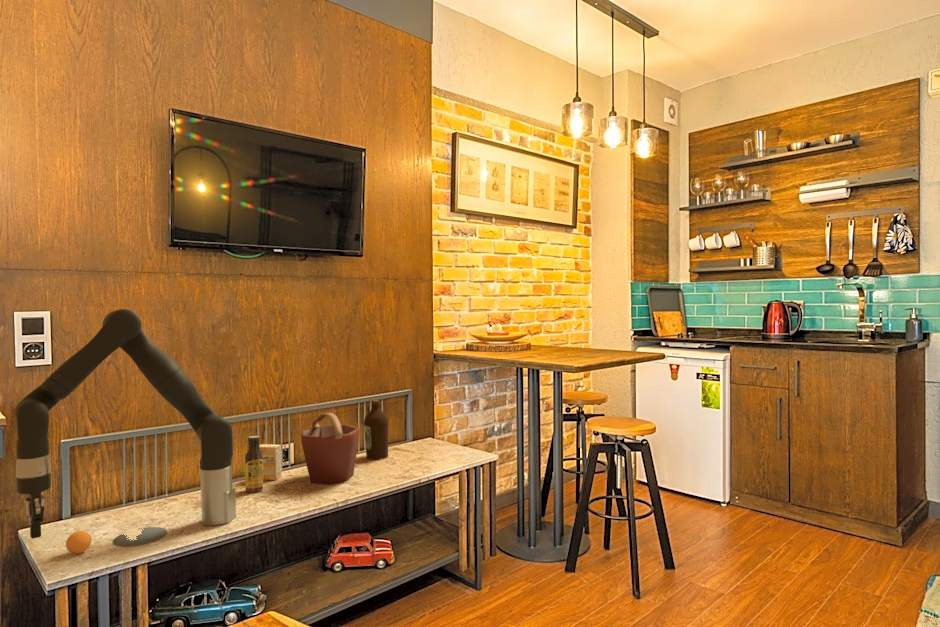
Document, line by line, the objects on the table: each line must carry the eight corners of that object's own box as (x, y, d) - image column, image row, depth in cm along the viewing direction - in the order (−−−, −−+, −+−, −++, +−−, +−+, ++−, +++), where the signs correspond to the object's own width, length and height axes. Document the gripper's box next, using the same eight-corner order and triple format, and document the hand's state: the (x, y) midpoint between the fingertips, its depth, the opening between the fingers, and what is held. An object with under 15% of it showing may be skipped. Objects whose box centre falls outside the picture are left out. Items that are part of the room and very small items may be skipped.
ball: (96, 548, 171) (95, 527, 171) (82, 557, 165) (81, 535, 165) (76, 548, 172) (75, 527, 171) (61, 557, 166) (60, 536, 165)
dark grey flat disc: (175, 527, 186) (175, 526, 186) (150, 545, 172) (150, 545, 172) (131, 528, 186) (131, 527, 186) (102, 546, 172) (102, 546, 172)
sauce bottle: (248, 494, 216) (245, 439, 216) (243, 490, 221) (241, 436, 221) (266, 490, 220) (264, 436, 220) (261, 486, 225) (259, 434, 225)
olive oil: (384, 452, 271) (382, 397, 270) (393, 457, 261) (391, 400, 261) (361, 456, 266) (359, 399, 265) (369, 461, 256) (367, 403, 256)
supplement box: (256, 480, 234) (255, 446, 234) (262, 476, 239) (261, 443, 238) (276, 480, 233) (275, 446, 232) (282, 476, 237) (281, 443, 237)
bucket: (301, 473, 242) (299, 411, 242) (356, 466, 249) (354, 406, 248) (304, 490, 219) (301, 422, 218) (365, 483, 226) (363, 416, 225)
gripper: (54, 474, 159) (56, 539, 160) (46, 465, 169) (48, 527, 169) (19, 480, 154) (21, 548, 154) (12, 471, 164) (15, 534, 164)
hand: (35, 537), depth 162 cm, fingers closed
